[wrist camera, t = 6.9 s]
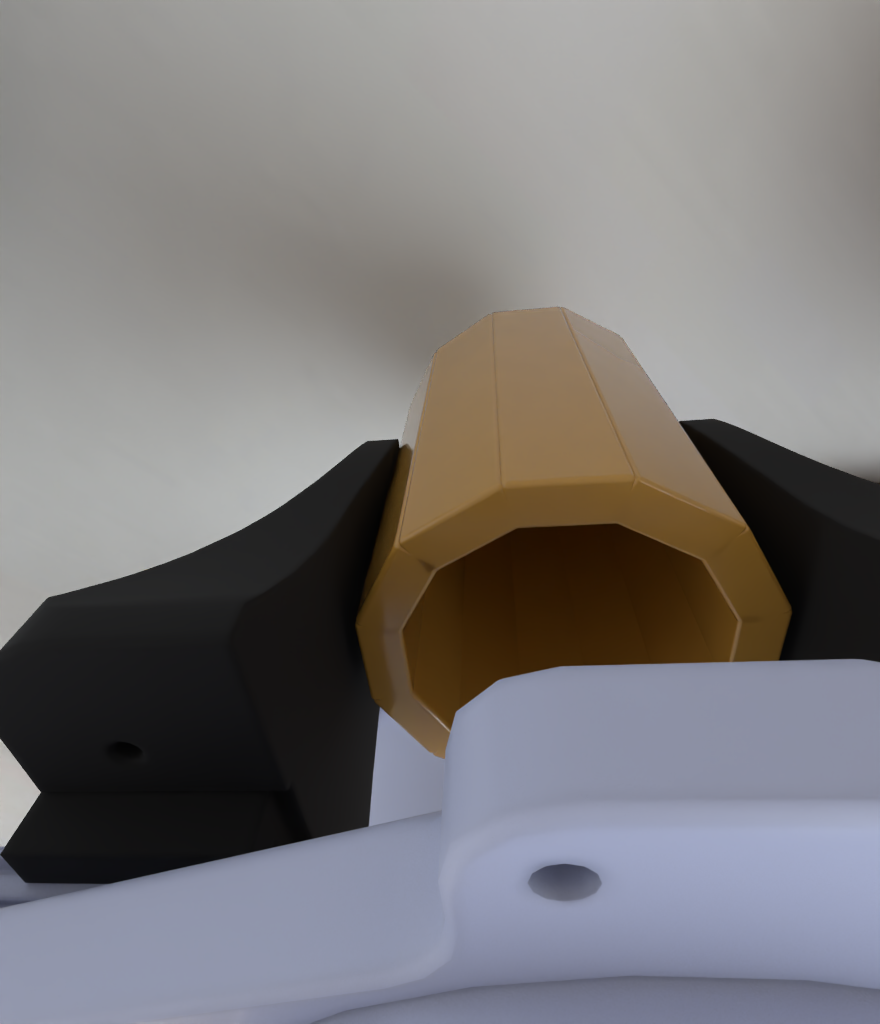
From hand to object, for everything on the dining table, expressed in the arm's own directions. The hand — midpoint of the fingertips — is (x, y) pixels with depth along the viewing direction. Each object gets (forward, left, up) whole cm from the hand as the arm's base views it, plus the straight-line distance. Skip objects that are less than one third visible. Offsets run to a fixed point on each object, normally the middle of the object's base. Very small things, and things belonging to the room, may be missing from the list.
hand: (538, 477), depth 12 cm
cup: (0, 0, -2) cm, 2 cm away
